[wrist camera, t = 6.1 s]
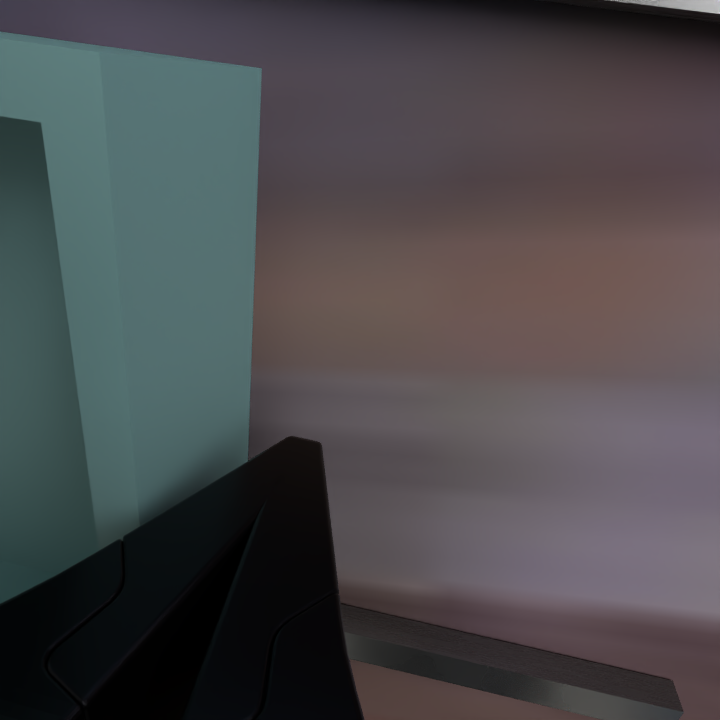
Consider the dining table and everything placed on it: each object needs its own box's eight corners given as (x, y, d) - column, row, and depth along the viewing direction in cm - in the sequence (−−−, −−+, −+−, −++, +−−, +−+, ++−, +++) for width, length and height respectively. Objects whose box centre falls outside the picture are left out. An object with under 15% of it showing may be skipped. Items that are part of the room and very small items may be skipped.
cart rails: (658, 703, 14) (685, 789, 13) (-296, 479, 17) (-383, 523, 15) (1116, -21, 7) (1332, -58, 5) (-679, -217, 10) (-931, -284, 8)
